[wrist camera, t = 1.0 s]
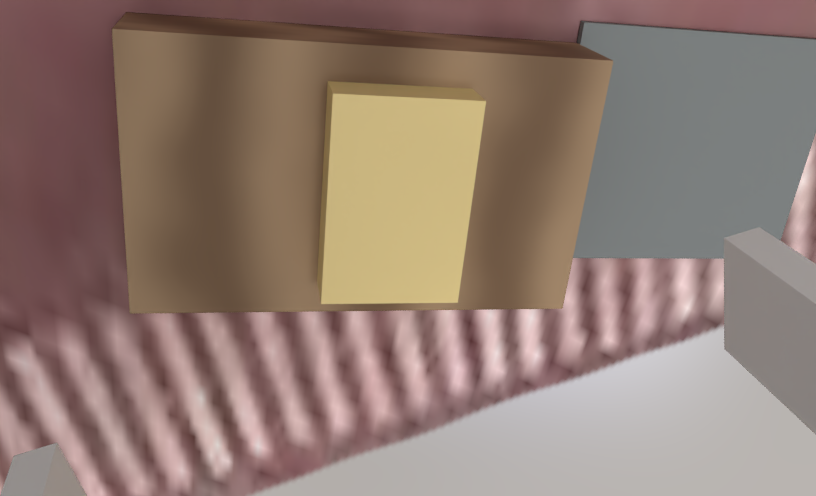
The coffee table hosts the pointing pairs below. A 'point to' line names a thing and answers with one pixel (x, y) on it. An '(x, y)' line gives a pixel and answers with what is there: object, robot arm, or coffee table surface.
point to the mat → (695, 139)
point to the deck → (304, 153)
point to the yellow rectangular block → (396, 192)
